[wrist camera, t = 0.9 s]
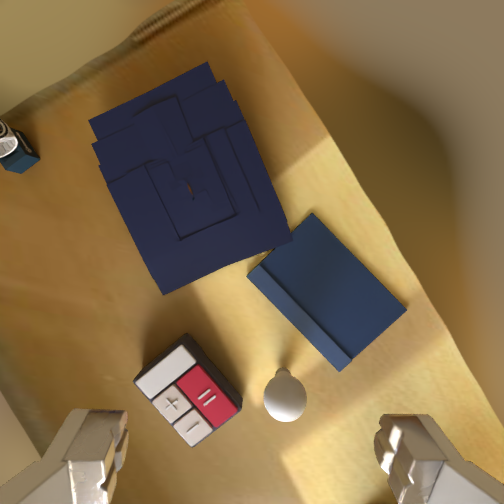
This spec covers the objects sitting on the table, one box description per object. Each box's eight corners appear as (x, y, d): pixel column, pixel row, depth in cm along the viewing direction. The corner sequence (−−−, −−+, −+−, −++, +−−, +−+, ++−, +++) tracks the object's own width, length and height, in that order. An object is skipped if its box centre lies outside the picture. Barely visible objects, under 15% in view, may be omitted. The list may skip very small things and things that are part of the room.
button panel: (190, 452, 49) (129, 383, 49) (196, 434, 54) (140, 370, 53) (242, 412, 48) (180, 341, 48) (244, 397, 53) (187, 331, 52)
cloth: (406, 309, 50) (408, 310, 49) (338, 370, 51) (339, 372, 50) (311, 212, 50) (312, 212, 49) (246, 276, 51) (246, 276, 50)
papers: (221, 63, 48) (218, 52, 44) (293, 238, 52) (295, 240, 48) (87, 129, 50) (74, 124, 47) (166, 291, 54) (159, 297, 51)
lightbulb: (303, 358, 51) (312, 391, 40) (298, 393, 52) (305, 435, 41) (267, 351, 51) (266, 383, 40) (262, 386, 52) (259, 427, 41)
